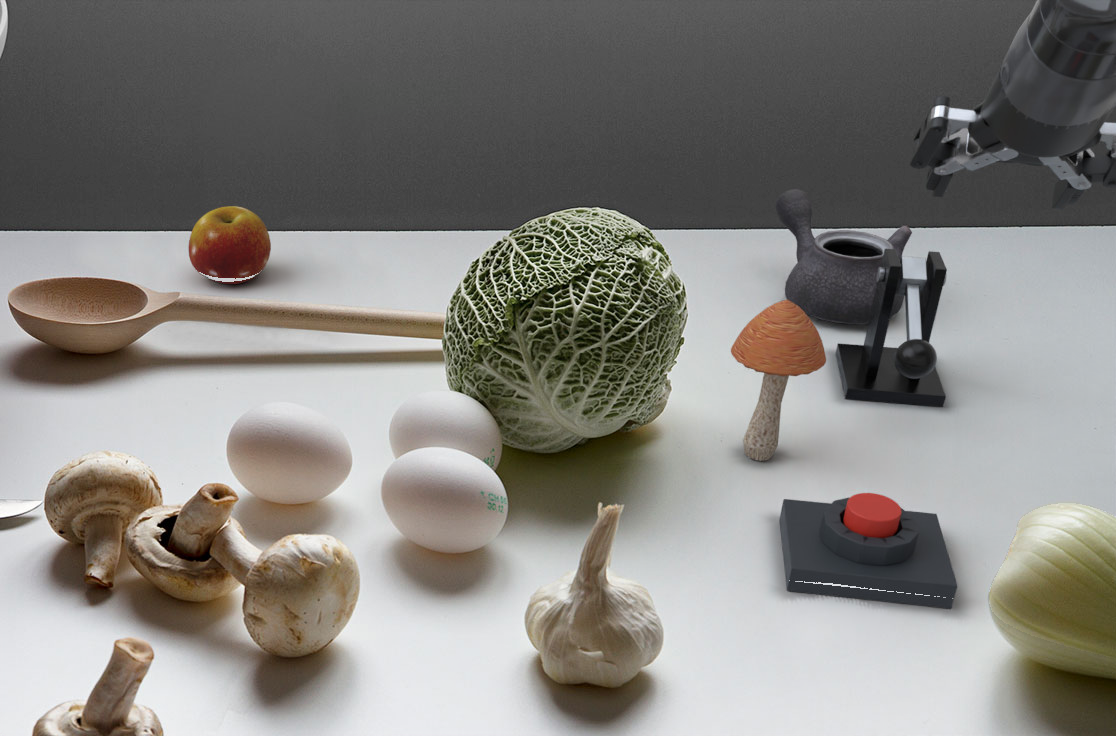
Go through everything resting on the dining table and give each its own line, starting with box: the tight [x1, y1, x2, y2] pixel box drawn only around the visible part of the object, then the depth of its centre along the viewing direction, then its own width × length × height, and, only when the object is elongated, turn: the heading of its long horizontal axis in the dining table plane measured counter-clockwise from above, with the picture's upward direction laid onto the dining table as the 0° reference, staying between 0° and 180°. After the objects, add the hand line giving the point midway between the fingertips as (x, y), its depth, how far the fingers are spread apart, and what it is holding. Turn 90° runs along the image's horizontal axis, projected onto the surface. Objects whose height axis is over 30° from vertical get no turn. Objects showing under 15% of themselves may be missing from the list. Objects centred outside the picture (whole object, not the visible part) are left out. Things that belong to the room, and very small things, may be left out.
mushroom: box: [730, 298, 827, 462], centre depth 113 cm, size 8×8×15 cm
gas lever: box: [894, 255, 938, 379], centre depth 120 cm, size 13×4×4 cm, turn 169°
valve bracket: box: [835, 249, 948, 408], centre depth 125 cm, size 10×9×13 cm
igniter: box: [843, 492, 902, 538], centre depth 100 cm, size 4×4×2 cm
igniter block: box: [778, 496, 958, 610], centre depth 102 cm, size 12×10×4 cm
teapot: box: [775, 188, 913, 325], centre depth 143 cm, size 19×15×10 cm
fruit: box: [188, 205, 272, 285], centre depth 150 cm, size 10×9×8 cm
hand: (997, 192), depth 99 cm, fingers open, 8 cm apart
